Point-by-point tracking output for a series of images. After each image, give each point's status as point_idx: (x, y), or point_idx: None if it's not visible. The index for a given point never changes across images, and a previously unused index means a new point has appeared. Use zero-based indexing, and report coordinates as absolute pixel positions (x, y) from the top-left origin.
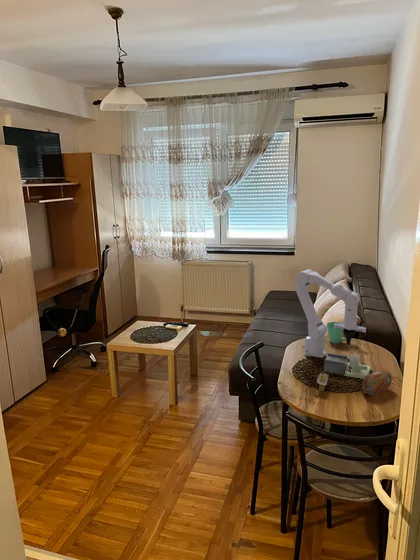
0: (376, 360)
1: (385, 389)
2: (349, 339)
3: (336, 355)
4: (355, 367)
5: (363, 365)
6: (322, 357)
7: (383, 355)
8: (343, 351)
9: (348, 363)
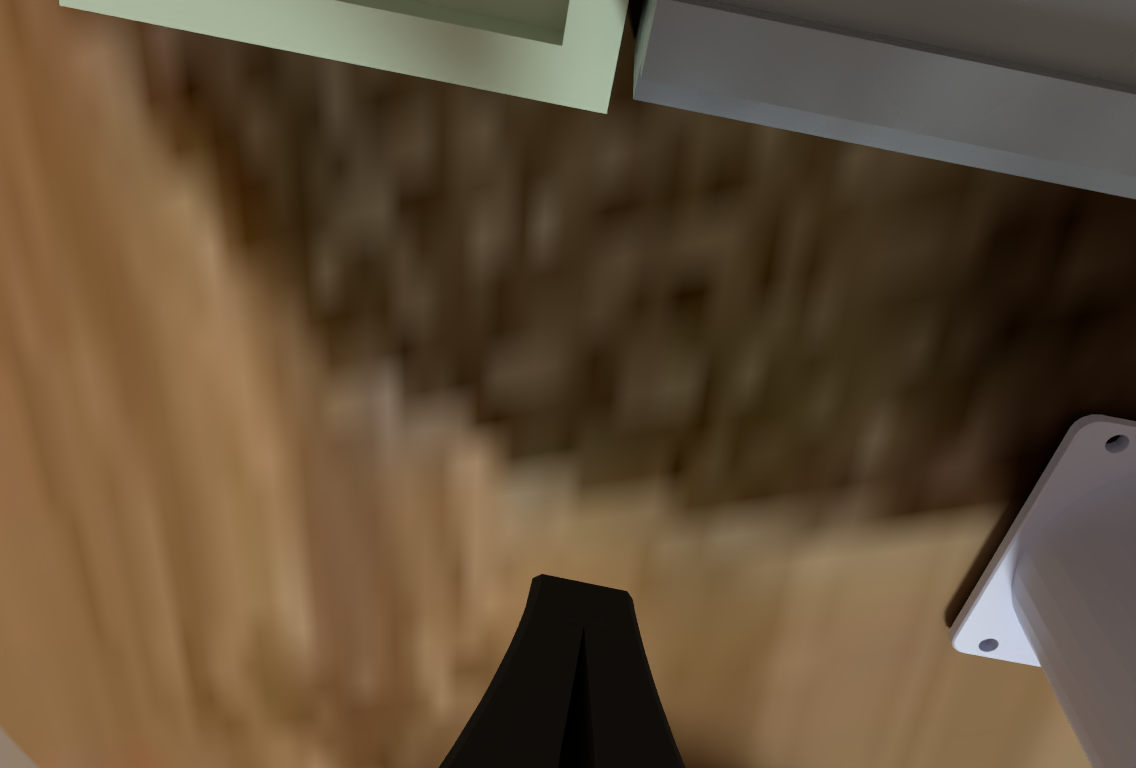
0: (89, 484)
1: None
2: (531, 736)
3: (1014, 66)
4: None
5: (219, 4)
6: (1095, 418)
7: (31, 660)
8: None
9: (595, 49)
